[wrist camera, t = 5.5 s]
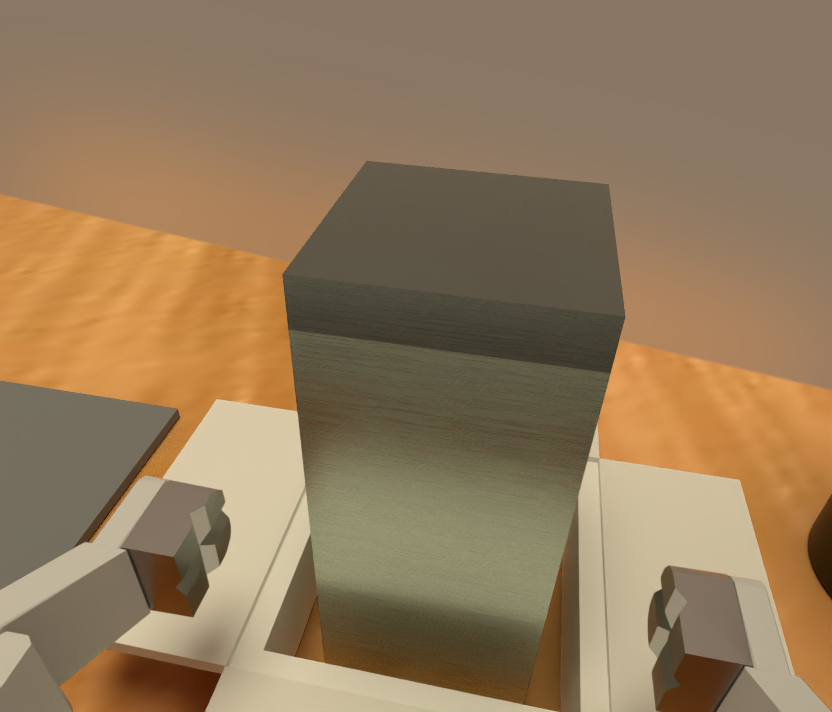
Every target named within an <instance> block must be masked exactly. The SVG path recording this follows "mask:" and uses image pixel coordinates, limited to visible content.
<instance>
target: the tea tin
mask: <svg viewBox="0 0 832 712" xmlns="http://www.w3.org/2000/svg"><path fill="white" fill-rule="evenodd" d="M283 284H284V293H285V302H286V311H287V321H288V330H289V339H290V348H291V357H292V367H293V376H294V385H295V394H296V403H297V413H298V422H299V431H300V440H301V449H302V459H303V468H304V477H305V486H306V495H307V505H308V514H309V523H310V532H311V541H312V551H313V560H314V569H315V578H316V587H317V597H318V606H319V615H320V624H321V634H322V643H323V652H324V661H325V663H327V664H331V665H336V666H341V667H346V668H350V669H355V670H360V671H365V672H370V673H374V674H379V675H384V676H389V677H394V678H398V679H403V680H408V681H413V682H417V683H422V684H427V685H432V686H437V687H441V688H446V689H451V690H456V691H460V692H465V693H470V694H475V695H480V696H484V697H489V698H494V699H499V700H503V701H508V702H513V703H518V704H524V700H525V697H526V693H527V689H528V685H529V681H530V678H531V674H532V670H533V666H534V662H535V659H536V655H537V651H538V647H539V643H540V640H541V636H542V632H543V628H544V624H545V620H546V617H547V613H548V609H549V605H550V601H551V598H552V594H553V590H554V586H555V582H556V579H557V575H558V571H559V567H560V563H561V560H562V556H563V552H564V548H565V544H566V541H567V537H568V533H569V529H570V525H571V521H572V518H573V514H574V510H575V506H576V502H577V499H578V495H579V491H580V487H581V483H582V480H583V476H584V472H585V468H586V464H587V461H588V457H589V453H590V449H591V445H592V442H593V438H594V434H595V430H596V426H597V422H598V419H599V415H600V411H601V407H602V403H603V400H604V396H605V392H606V388H607V384H608V381H609V377H610V373H611V369H612V365H613V362H614V358H615V354H616V350H617V346H618V343H619V339H620V335H621V331H622V327H623V323H624V320H625V310H624V302H623V294H622V286H621V278H620V271H619V263H618V255H617V247H616V239H615V232H614V223H613V216H612V207H611V200H610V191H609V185H608V184H599V183H589V182H579V181H568V180H558V179H548V178H537V177H527V176H517V175H506V174H495V173H485V172H475V171H463V170H454V169H443V168H434V167H423V166H413V165H412V166H411V165H402V164H392V163H381V162H371V161H366V163H365V164H364V165H363V167H362V168H361V169H360V171H359V172H358V173H357V175H356V176H355V177H354V179H353V180H352V181H351V183H350V184H349V185H348V187H347V188H346V190H345V191H344V192H343V194H342V195H341V197H339V199H338V200H337V202H336V203H335V204H334V206H333V207H332V208H331V210H330V211H329V212H328V214H327V215H326V216H325V218H324V219H323V220H322V222H321V223H320V224H319V226H318V227H317V229H316V230H315V231H314V232H313V234H312V235H311V236H310V238H309V239H308V241H307V242H306V243H305V245H304V246H303V247H302V249H301V250H300V251H299V253H298V254H297V255H296V257H295V258H294V259H293V261H292V262H291V263H290V265H289V266H288V267H287V269H286V270H285V271H284V273H283Z"/></svg>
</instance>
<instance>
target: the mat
mask: <svg viewBox="0 0 832 712" xmlns="http://www.w3.org/2000/svg"><path fill="white" fill-rule="evenodd" d="M179 417H180V416H179V412H178V409H176V408H170V407H163V406H157V405H151V404H144V403H138V402H132V401H125V400H119V399H113V398H106V397H100V396H94V395H87V394H81V393H75V392H68V391H62V390H56V389H49V388H43V387H37V386H30V385H24V384H18V383H11V382H5V381H0V590H1V589H3V588H5V587H7V586H8V585H10V584H12V583H14V582H15V581H17V580H19V579H21V578H22V577H24V576H26V575H28V574H29V573H31V572H33V571H35V570H36V569H38V568H40V567H42V566H44V565H45V564H47V563H49V562H51V561H52V560H54V559H56V558H58V557H59V556H61V555H63V554H65V553H66V552H68V551H70V550H72V549H73V548H75V547H77V546H79V545H80V544H82V543H84V542H88V540H89V539H90V538H91V536H92V535H93V534H94V532H95V531H96V530H97V528H98V527H99V526H100V524H101V523H102V521H103V520H104V519H105V517H106V516H107V515H108V513H109V512H110V511H111V509H112V508H113V507H114V505H115V504H116V502H117V501H118V500H119V498H120V497H121V496H122V494H123V493H124V492H125V490H126V489H127V488H128V486H129V485H130V483H131V482H132V481H133V479H134V478H135V477H136V475H137V474H138V473H139V471H140V470H141V469H142V467H143V466H144V464H145V463H146V462H147V460H148V459H149V458H150V456H151V455H152V454H153V452H154V451H155V450H156V448H157V447H158V445H159V444H160V443H161V441H162V440H163V439H164V437H165V436H166V435H167V433H168V432H169V431H170V429H171V428H172V426H173V425H174V424H175V422H176V421H177V420H178V418H179Z"/></svg>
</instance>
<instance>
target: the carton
mask: <svg viewBox="0 0 832 712" xmlns="http://www.w3.org/2000/svg"><path fill="white" fill-rule="evenodd" d="M162 479H168V480H173V481H178V482H183V483H188V484H193V485H198V486H203V487H208V488H213V489H219V490H222V491H223V494H224V498H225V501H226V502H225V504H224V506H223V508H222V511H223V512H224V513H225V514H226V515H227V516H228V517H229V519H230V524H231V538H230V542H229V545H228V549H227V553H226V555H225V557H224V559H223V561H222V563H221V565H220V566H219V567H218V568H216V569H215V570H213V571H212V572H210V573H209V574H207V577H208V581H209V588H208V590H207V592H206V594H205V596H204V598H203V600H202V602H201V604H200V606H199V608H198V610H197V611H196V613H195V615H194V617H187V616H182V615H176V614H170V613H164V612H158V611H152V610H150V614H149V615H147V616H146V617H145V618H144V619H142V620H141V621H140V622H139V623H137V624H136V625H135V626H134V627H132V628H131V629H130V630H129V631H128V632H126V633H125V634H124V635H123V636H121V637H120V638H119V639H118V640H116V641H115V642H114V643H113V644H111V645H110V646H109V647H108V648H106V649H108V650H113V651H118V652H122V653H127V654H132V655H136V656H141V657H145V658H150V659H155V660H159V661H164V662H169V663H173V664H178V665H182V666H187V667H192V668H196V669H201V670H205V671H210V672H215V673H219V674H221V677H220V679H219V681H218V683H217V686H216V688H215V690H214V693H213V695H212V697H211V699H210V702H209V704H208V706H207V708H206V711H205V712H556V711H551V710H547V709H542V708H537V707H532V706H527V705H523V704H518V703H513V702H508V701H503V700H499V699H494V698H489V697H484V696H480V695H475V694H470V693H465V692H460V691H456V690H451V689H446V688H441V687H437V686H432V685H427V684H422V683H417V682H413V681H408V680H403V679H398V678H394V677H389V676H384V675H379V674H374V673H370V672H365V671H360V670H355V669H350V668H346V667H341V666H336V665H331V664H327V663H322V662H317V661H312V660H307V659H303V658H298V657H295V655H296V652H297V650H298V647H299V644H300V641H301V638H302V636H303V633H304V630H305V627H306V624H307V622H308V619H309V616H310V613H311V610H312V608H313V605H314V602H315V599H316V596H317V587H316V578H315V569H314V560H313V551H312V541H311V532H310V523H309V514H308V505H307V495H306V486H305V477H304V468H303V459H302V449H301V440H300V431H299V422H298V413H297V411H291V410H284V409H278V408H271V407H265V406H258V405H252V404H245V403H239V402H232V401H226V400H219V399H217V400H216V401H215V403H214V404H213V406H212V407H211V409H210V410H209V411H208V413H207V414H206V416H205V417H204V419H203V420H202V422H201V423H200V425H199V426H198V427H197V429H196V430H195V432H194V433H193V435H192V436H191V438H190V439H189V440H188V442H187V443H186V445H185V446H184V448H183V449H182V451H181V452H180V454H179V455H178V456H177V458H176V459H175V461H174V462H173V464H172V465H171V467H170V468H169V469H168V471H167V472H166V474H165V475H164V477H163V478H162ZM668 565H670V566H677V567H683V568H690V569H696V570H702V571H709V572H715V573H722V574H727V575H728V576H735V577H741V578H747V579H754V580H759V581H761V582H762V583H763V584H764V586H765V587H766V590H767V593H768V597H769V600H770V604H771V607H772V611H773V614H774V618H775V621H776V625H777V628H778V631H779V635H780V638H781V642H782V645H783V649H784V652H785V656H786V659H787V663H788V666H789V670H790V673H791V675H794V676H795V673H794V670H793V666H792V663H791V659H790V656H789V652H788V649H787V645H786V642H785V638H784V635H783V631H782V627H781V624H780V620H779V617H778V613H777V610H776V606H775V603H774V599H773V596H772V592H771V589H770V585H769V582H768V578H767V575H766V571H765V568H764V564H763V561H762V557H761V553H760V550H759V546H758V543H757V539H756V536H755V532H754V529H753V525H752V522H751V518H750V515H749V511H748V508H747V504H746V501H745V497H744V494H743V490H742V487H741V483H740V480H738V479H731V478H725V477H718V476H712V475H705V474H699V473H692V472H686V471H679V470H673V469H666V468H660V467H654V466H647V465H641V464H634V463H628V462H621V461H615V460H608V459H602V458H599V441H598V422H597V426H596V430H595V434H594V438H593V442H592V445H591V449H590V453H589V457H588V461H587V464H586V468H585V472H584V476H583V480H582V483H581V487H580V491H579V495H578V499H577V502H576V506H575V510H574V514H573V518H572V521H571V525H570V529H569V533H568V537H567V541H566V544H565V548H564V552H563V556H562V610H561V686H560V712H660V711H656V708H655V699H654V690H653V681H652V669H653V667H654V665H655V663H656V661H657V657H656V656H655V654H654V653H653V652H652V650H651V649H650V648H649V643H648V613H649V606H650V602H651V600H652V597H653V594H654V592H657V591H659V590H661V589H662V586H661V578H660V577H661V575H662V573H663V570H664V568H666V567H667V566H668Z"/></svg>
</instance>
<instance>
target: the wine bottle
mask: <svg viewBox="0 0 832 712" xmlns="http://www.w3.org/2000/svg"><path fill="white" fill-rule="evenodd" d="M809 553H810V557H811V561H812V564H813V566H814V568H815V571H816V573H817V575H818V577H819V578H820V580H821V582H822V583H823V585H824V586H825V588H826V589H827V591H828V592H829V593H830V595H831V596H832V495H831V496H830V498H829V499H828V501H827V503H826V504H825V506H824V508H823V509H822V511H821V513H820V514H819V516H818V517H817V519H816V521H815V522H814V524H813V526H812V528H811V531H810V534H809Z"/></svg>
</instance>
